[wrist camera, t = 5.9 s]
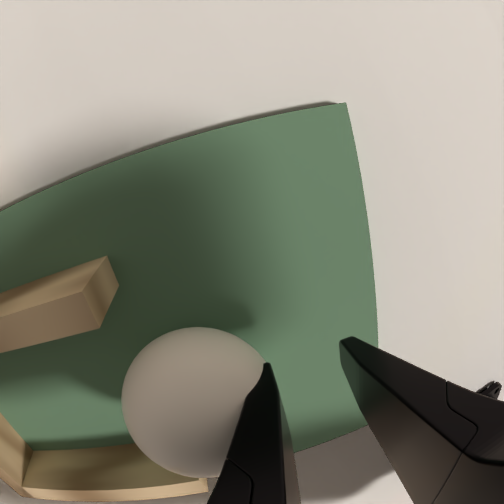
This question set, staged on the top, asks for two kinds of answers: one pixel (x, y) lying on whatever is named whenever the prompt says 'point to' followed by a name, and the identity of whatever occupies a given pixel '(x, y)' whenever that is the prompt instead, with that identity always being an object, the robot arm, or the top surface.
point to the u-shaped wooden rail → (75, 460)
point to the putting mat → (201, 272)
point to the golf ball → (189, 398)
